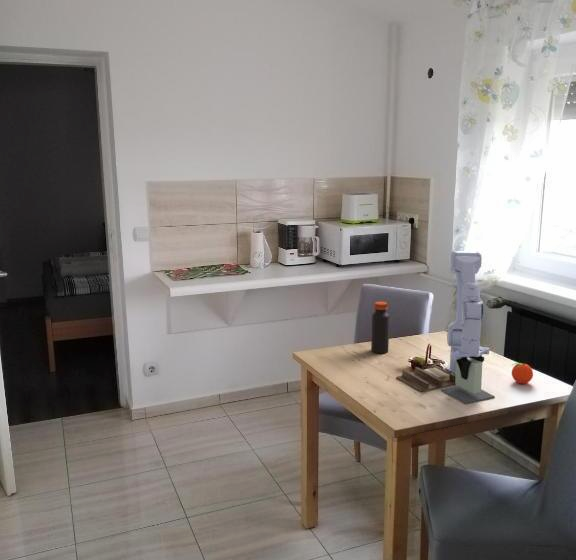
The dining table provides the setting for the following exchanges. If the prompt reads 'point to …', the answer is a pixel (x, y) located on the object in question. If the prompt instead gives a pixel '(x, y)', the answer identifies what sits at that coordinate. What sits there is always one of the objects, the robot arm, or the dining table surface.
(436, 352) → the dining table surface
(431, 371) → the offcut top
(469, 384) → the sage panel
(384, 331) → the bottle
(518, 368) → the tomato
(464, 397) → the mat
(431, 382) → the rack
